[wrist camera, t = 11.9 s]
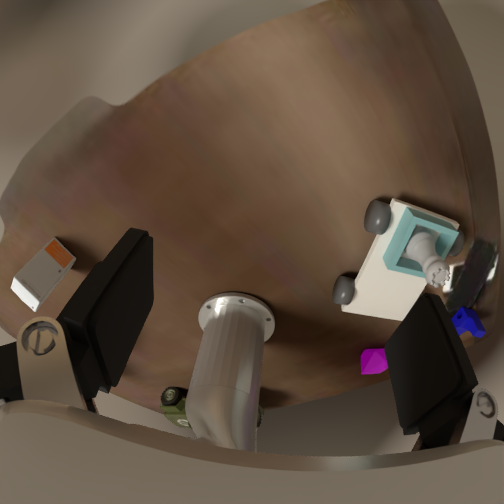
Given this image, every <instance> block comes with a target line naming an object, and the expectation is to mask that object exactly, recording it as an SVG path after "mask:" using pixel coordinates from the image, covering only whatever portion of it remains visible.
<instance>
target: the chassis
mask: <svg viewBox="0 0 504 504" xmlns="http://www.w3.org/2000/svg"><path fill="white" fill-rule="evenodd" d="M364 227H365V230H366V231H368V232H371V233H375V234H377V235H376V237H375V240H374V242H373V244H372V246H371V248H370V250H369V253H368V255H367V257H366V259H365V261H364V263H363V265H362V267H361V269H360V271H359V273H358V275H357V277H356V279H355V281H354V279H353V278H350V277H345V276H339V277H338V278H337V280H336V282H335V285H334V288H333V302H334V303H336V304H341V305H342V306H341V307H342V311H344V312H350V313H356V314H362V315H368V316H374V317H380V318H387V319H393V320H400V321H403V319H404V318H405V316H406V315H407V314H408V312H409V311H410V309H411V308H412V307H413V305H414V304H415V302H416V301H417V299H418V298H419V297H420V296H422V295H423V293H421V292H422V291H423V289H424V288H425V286H426V284H427V282H426V280H425V274H424V272H423V267H422V266H421V265H420V264H419V262H416V261H414V260H412V259H410V258H409V257H408V256H407V254H406V253H405V251H404V248H405V246H406V244H407V242H408V240H409V238H410V236H411V234H412V232H413V230H414V228H418V227H424V228H427V229H428V230H430V232H431V234H432V235H433V237H434V239H435V250H436V253H437V255H438V256H440V257H442V260H443V261H444V260H445V258H446V256H447V255H450V256H457V255H458V254H459V253H460V252H461V251H462V249H463V246H464V234H463V232H462V231H461V230H460V229H458V227H459V224H458V223H457V221H454V220H452V219H449V218H447V217H444V216H442V215H439V214H436V213H434V212H431V211H428V210H426V209H423V208H420V207H417V206H415V205H412V204H409V203H406V202H403V201H400V200H397V199H394V198H392V200H391V203H390V205H389V204H387V203H384V202H381V201H378V200H372V201H371V202H370V204H369V205H368V208H367V210H366V213H365V219H364Z"/></svg>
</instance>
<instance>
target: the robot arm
mask: <svg viewBox="0 0 504 504" xmlns="http://www.w3.org/2000/svg"><path fill="white" fill-rule="evenodd" d="M153 300H154V290H153V237H150V236H149V234H148V232H147V231H144V230H140V229H136V228H130V229H129V230H128V231H127V232H126V233H125V234H124V236H123V237H122V238H121V239H120V240H119V242H118V243H117V244H116V245H115V247H114V248H113V249H112V250H111V252H110V253H109V254H108V255H107V257H106V258H105V259H104V260H103V262H98V263H97V264H96V265H95V266H94V268H93V269H92V270H91V272H90V273H89V274H88V276H87V277H86V278H85V280H84V281H83V282H82V284H81V285H80V286H79V288H78V289H77V290H76V292H75V293H74V294H73V296H72V297H71V299H70V300H69V301H68V303H67V304H66V306H65V307H64V309H63V310H62V311H61V313H60V314H59V316H58V317H57V319H56V320H54V319H52V318H50V317H36V318H34V319H31V320H29V321H28V322H27V323H25V324H24V325H23V326H22V328H21V329H20V331H19V333H18V335H17V341H16V342H13V343H10V344H7V345H3V346H0V504H504V425H503V424H502V423H501V422H500V421H499V420H497V415H498V405H497V402H496V400H495V398H494V396H493V395H492V394H491V393H490V392H489V391H488V390H486V389H483V388H480V389H477V390H476V391H475V392H474V393H473V392H472V389H473V388H474V387H475V386H476V385H478V381H477V378H476V375H475V373H474V370H473V368H472V366H471V363H470V360H469V358H468V356H467V353H466V351H465V348H464V346H463V344H462V341H461V339H460V337H459V335H458V332H457V330H456V328H455V326H454V324H453V322H452V320H451V318H450V316H449V313H448V311H447V309H446V307H445V305H444V304H443V302H442V300H441V298H440V296H438V295H435V294H430V293H425V294H423V295H422V296H420V297H419V298H418V299H417V301H416V302H415V304H414V305H413V307H412V308H411V309H410V311H409V312H408V314H407V315H406V317H405V318H404V319H403V321H402V322H401V324H400V325H399V326H398V328H397V329H396V331H395V332H394V333H393V335H392V336H391V337H390V339H389V340H388V341H387V343H386V345H385V348H384V352H385V356H386V360H387V364H388V369H389V373H390V377H391V382H392V386H393V391H394V396H395V401H396V406H397V412H398V417H399V422H400V426H401V427H402V428H403V433H404V435H411V434H416V433H417V432H419V433H420V436H419V438H418V440H417V441H416V443H415V445H414V447H413V449H412V451H411V452H404V453H396V454H386V455H372V456H353V457H352V456H351V457H315V456H314V457H311V456H293V455H279V454H269V453H259V452H256V428H257V415H258V404H259V394H260V383H261V371H262V360H263V348H264V342H265V341H267V340H268V339H269V338H270V337H271V336H272V334H273V332H274V328H275V318H274V315H273V313H272V311H271V309H270V308H269V307H268V306H267V305H266V304H265V303H264V302H262V301H261V300H259V299H257V298H255V297H253V296H250V295H247V294H243V293H235V292H229V293H221V294H217V295H215V296H212V297H211V298H209V299H207V300H206V301H205V302H204V303H203V305H202V307H201V309H200V312H199V318H198V319H199V324H200V326H201V328H202V330H203V331H204V334H203V337H202V341H201V345H200V348H199V352H198V356H197V359H196V363H195V367H194V371H193V375H192V378H191V382H190V386H189V390H188V393H187V397H186V402H185V411H186V416H187V419H188V421H189V423H190V425H191V427H192V429H193V431H194V432H195V434H196V435H197V437H198V439H195V438H189V437H188V438H187V437H183V436H178V435H175V434H171V433H168V432H164V431H160V430H157V429H153V428H149V427H146V426H142V425H137V424H127V423H124V422H121V421H118V420H115V419H112V418H108V417H105V416H102V415H99V413H98V410H97V408H96V405H95V402H94V399H93V398H95V397H96V395H97V392H98V390H100V391H103V392H105V393H109V391H110V388H111V386H113V387H116V386H117V384H118V382H119V380H120V378H121V375H122V373H123V370H124V368H125V366H126V363H127V361H128V359H129V356H130V354H131V352H132V350H133V347H134V345H135V343H136V341H137V338H138V336H139V334H140V332H141V330H142V327H143V325H144V323H145V321H146V319H147V317H148V314H149V312H150V310H151V308H152V305H153Z"/></svg>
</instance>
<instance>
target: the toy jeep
mask: <svg viewBox="0 0 504 504" xmlns="http://www.w3.org/2000/svg"><path fill="white" fill-rule="evenodd" d="M182 395H183V394H182V392H181V391H180V390H179V389H178V388H176V387H168V389H167V388H166V390H165V391H163V393H162V396H161V404H160V405H161V406H160V408H161V409H163V410H164V411H165V413H164V415H165V417H166V418H167V419H168V420H170V421H171V422H172V423H174V424H175V425H177V426H179V427H187V428H191V429H192V427H191V425H190V423H189V421H188V419H187V416H186V411H185V402H186V398H183V399H182V397H183V396H182ZM260 414H262V415H264V410H263V409H262V408H261V407H260V405H259V404H258V415H257V428H256V429H258V427H259V426H260V423H261V422H260V421H261V415H260Z"/></svg>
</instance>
